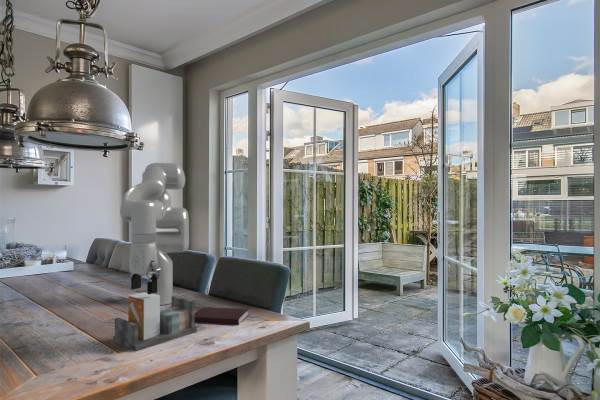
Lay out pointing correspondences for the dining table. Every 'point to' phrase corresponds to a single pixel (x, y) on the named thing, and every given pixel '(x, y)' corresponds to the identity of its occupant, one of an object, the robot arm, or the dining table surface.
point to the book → (221, 315)
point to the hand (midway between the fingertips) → (144, 290)
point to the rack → (171, 325)
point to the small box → (145, 314)
